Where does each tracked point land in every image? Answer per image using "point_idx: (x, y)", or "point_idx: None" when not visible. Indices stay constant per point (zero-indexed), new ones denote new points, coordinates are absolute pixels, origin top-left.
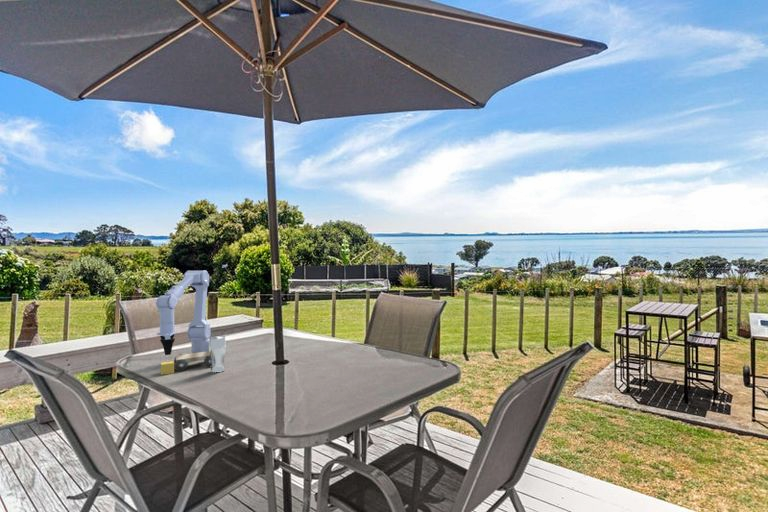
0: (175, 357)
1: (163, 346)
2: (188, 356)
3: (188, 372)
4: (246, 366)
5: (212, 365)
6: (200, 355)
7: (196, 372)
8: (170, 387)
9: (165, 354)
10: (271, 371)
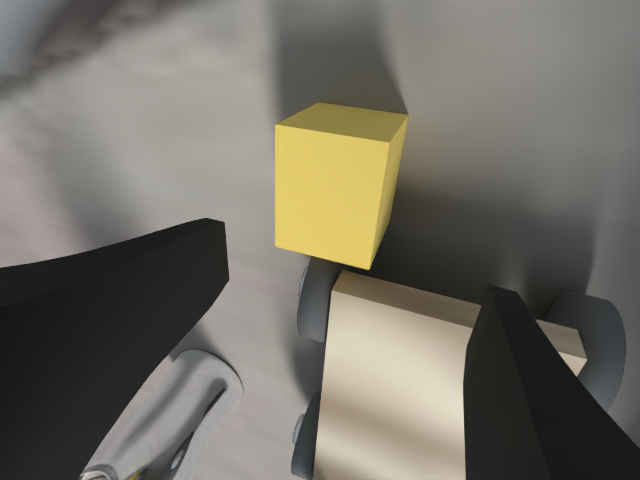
0: (595, 341)
1: (40, 265)
2: (396, 401)
3: (268, 278)
4: (227, 465)
5: (164, 385)
6: (359, 454)
7: (241, 308)
8: (4, 113)
9: (197, 222)
10: None
